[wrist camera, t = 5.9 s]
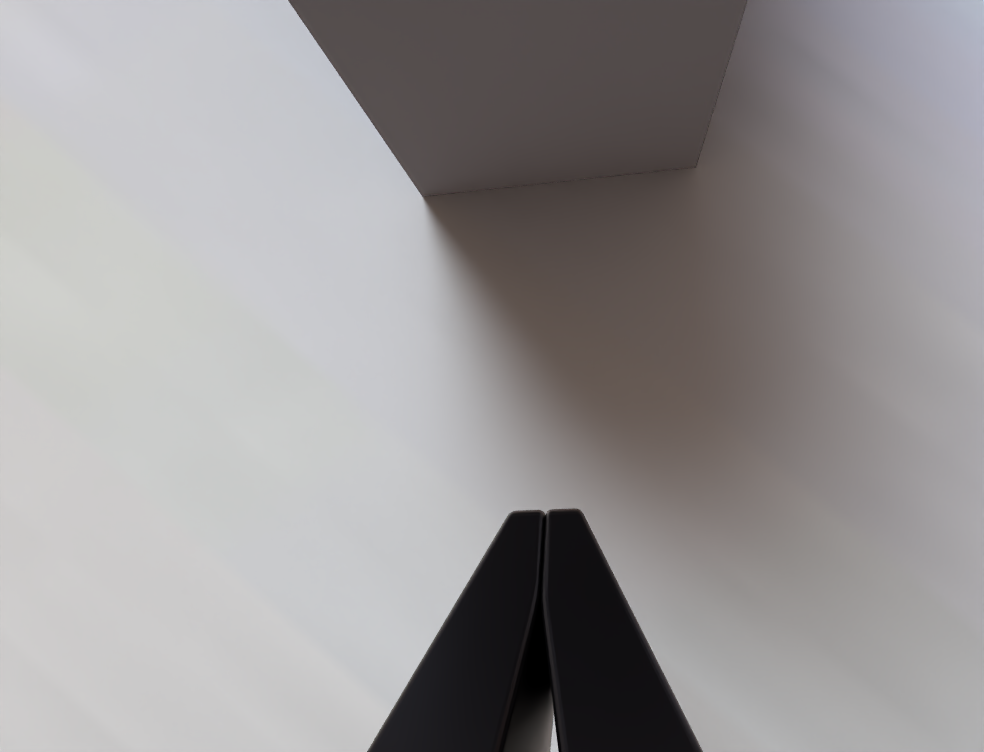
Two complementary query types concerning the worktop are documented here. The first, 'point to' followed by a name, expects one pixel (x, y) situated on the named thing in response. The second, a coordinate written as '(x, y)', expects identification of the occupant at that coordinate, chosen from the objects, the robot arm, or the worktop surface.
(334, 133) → the worktop surface
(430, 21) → the grey rectangular box
